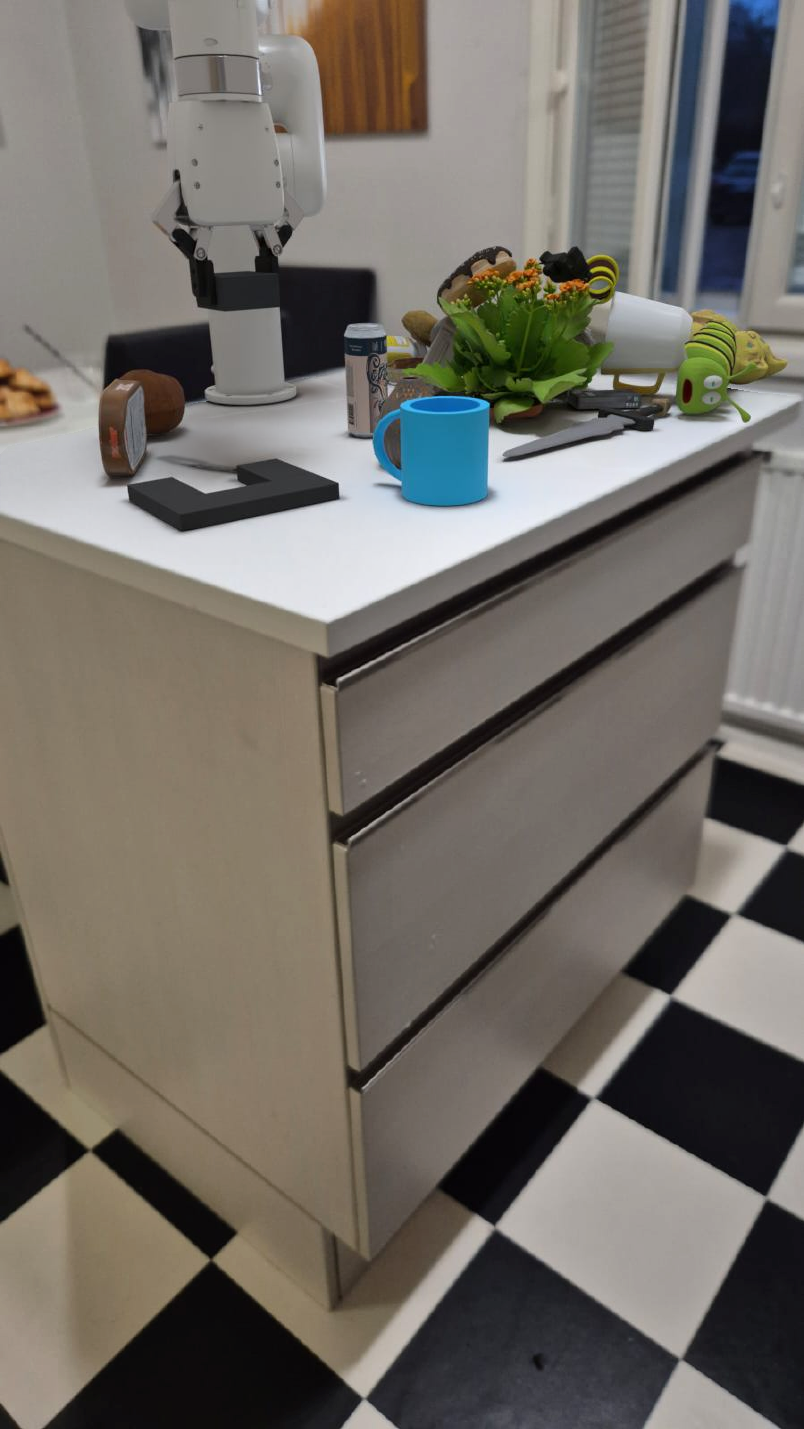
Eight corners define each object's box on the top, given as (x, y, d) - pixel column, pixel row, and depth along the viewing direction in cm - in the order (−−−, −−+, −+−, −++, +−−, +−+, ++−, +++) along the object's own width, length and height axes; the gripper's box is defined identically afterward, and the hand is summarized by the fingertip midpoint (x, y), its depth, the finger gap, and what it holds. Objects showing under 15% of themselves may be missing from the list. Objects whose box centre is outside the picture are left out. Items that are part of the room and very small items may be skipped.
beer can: (383, 439, 114) (381, 328, 108) (343, 438, 115) (338, 327, 109) (392, 430, 118) (390, 322, 112) (353, 429, 119) (349, 322, 113)
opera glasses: (592, 272, 121) (624, 294, 122) (596, 245, 123) (627, 267, 125) (544, 326, 128) (575, 345, 130) (549, 300, 131) (578, 319, 133)
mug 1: (502, 488, 95) (505, 401, 91) (461, 510, 89) (462, 417, 85) (397, 473, 101) (395, 389, 97) (351, 492, 94) (347, 404, 91)
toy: (668, 358, 117) (756, 364, 113) (719, 293, 136) (795, 296, 132) (663, 420, 121) (747, 428, 117) (713, 349, 140) (787, 353, 136)
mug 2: (700, 280, 124) (615, 272, 126) (690, 344, 120) (604, 336, 122) (683, 356, 136) (606, 349, 138) (674, 416, 133) (595, 408, 135)
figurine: (709, 305, 144) (803, 328, 136) (696, 365, 150) (785, 392, 141) (665, 315, 138) (760, 341, 129) (652, 378, 143) (743, 407, 134)
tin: (127, 450, 111) (115, 372, 107) (155, 449, 111) (144, 371, 107) (102, 486, 98) (88, 398, 94) (135, 485, 98) (122, 397, 94)
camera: (434, 354, 144) (467, 294, 137) (466, 377, 144) (500, 318, 137) (402, 379, 136) (435, 317, 129) (436, 404, 136) (471, 343, 129)
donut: (525, 276, 130) (510, 249, 130) (514, 260, 119) (497, 230, 119) (454, 325, 134) (439, 299, 133) (437, 314, 123) (420, 285, 122)
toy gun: (561, 261, 113) (595, 299, 115) (579, 240, 112) (613, 279, 114) (512, 269, 131) (543, 302, 133) (528, 251, 131) (558, 284, 133)
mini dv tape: (577, 397, 125) (567, 389, 131) (577, 409, 126) (567, 401, 131) (641, 395, 126) (629, 388, 131) (640, 407, 126) (628, 399, 132)
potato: (206, 429, 120) (199, 364, 117) (150, 448, 112) (141, 379, 108) (150, 423, 123) (141, 360, 120) (91, 442, 115) (81, 375, 111)
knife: (297, 466, 102) (282, 472, 99) (297, 473, 102) (282, 479, 100) (164, 455, 108) (146, 460, 106) (164, 462, 109) (147, 467, 106)
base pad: (128, 500, 93) (126, 484, 93) (277, 472, 101) (276, 458, 101) (182, 531, 85) (179, 514, 84) (339, 498, 93) (339, 482, 92)
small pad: (197, 307, 98) (193, 274, 96) (251, 303, 101) (248, 271, 99) (224, 311, 93) (221, 277, 92) (280, 307, 96) (278, 273, 95)
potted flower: (373, 423, 120) (369, 266, 112) (440, 389, 140) (440, 252, 131) (575, 438, 112) (587, 269, 104) (617, 399, 131) (629, 254, 123)
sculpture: (476, 376, 150) (450, 374, 163) (489, 355, 149) (462, 356, 163) (406, 322, 145) (386, 325, 159) (419, 301, 144) (398, 306, 158)
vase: (384, 455, 107) (382, 371, 103) (448, 457, 106) (448, 371, 102) (372, 472, 101) (370, 383, 97) (439, 474, 100) (440, 384, 96)
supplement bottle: (359, 377, 151) (416, 379, 155) (372, 365, 146) (432, 368, 150) (355, 341, 151) (413, 345, 155) (368, 328, 146) (428, 332, 150)
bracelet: (453, 377, 148) (453, 356, 147) (430, 387, 141) (430, 365, 140) (400, 373, 151) (400, 353, 150) (375, 383, 144) (374, 362, 143)
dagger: (687, 415, 123) (689, 398, 122) (560, 471, 100) (561, 450, 99) (631, 408, 127) (633, 392, 126) (497, 460, 104) (497, 440, 103)
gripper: (282, 93, 95) (295, 294, 104) (110, 85, 87) (139, 306, 95) (323, 85, 90) (333, 299, 98) (144, 76, 81) (171, 312, 90)
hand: (237, 300), depth 97 cm, fingers closed on small pad, 6 cm apart
